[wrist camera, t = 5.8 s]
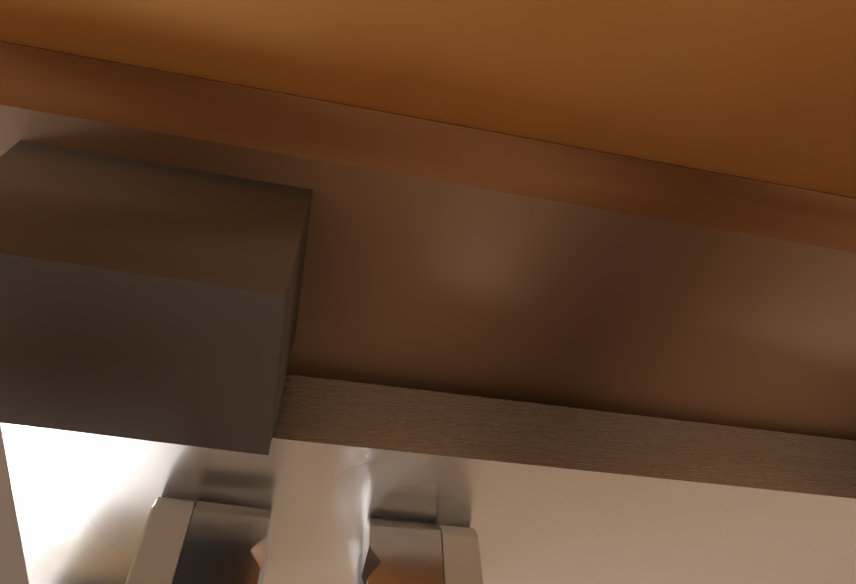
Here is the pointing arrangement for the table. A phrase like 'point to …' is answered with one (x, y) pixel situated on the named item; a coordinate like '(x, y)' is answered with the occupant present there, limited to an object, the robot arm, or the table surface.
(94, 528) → the bar
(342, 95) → the table surface
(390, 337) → the base
